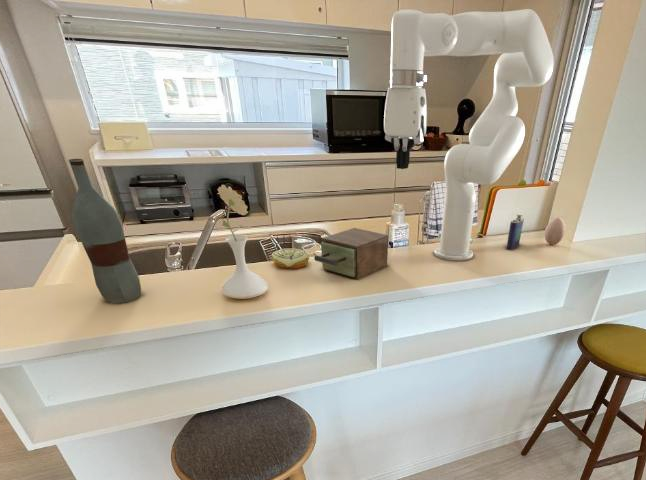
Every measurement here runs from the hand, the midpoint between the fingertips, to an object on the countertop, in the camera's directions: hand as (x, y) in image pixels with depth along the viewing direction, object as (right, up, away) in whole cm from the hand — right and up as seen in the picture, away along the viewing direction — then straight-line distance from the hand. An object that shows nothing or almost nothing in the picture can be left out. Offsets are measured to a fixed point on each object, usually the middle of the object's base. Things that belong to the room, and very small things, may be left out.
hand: (402, 168), depth 108 cm
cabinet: (-13, -21, +16) cm, 30 cm away
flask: (+40, -8, +38) cm, 56 cm away
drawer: (-16, -23, +13) cm, 30 cm away
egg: (+56, -6, +42) cm, 70 cm away
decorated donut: (-33, -20, +17) cm, 42 cm away
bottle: (-69, -35, -5) cm, 77 cm away
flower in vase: (-40, -33, -1) cm, 52 cm away
